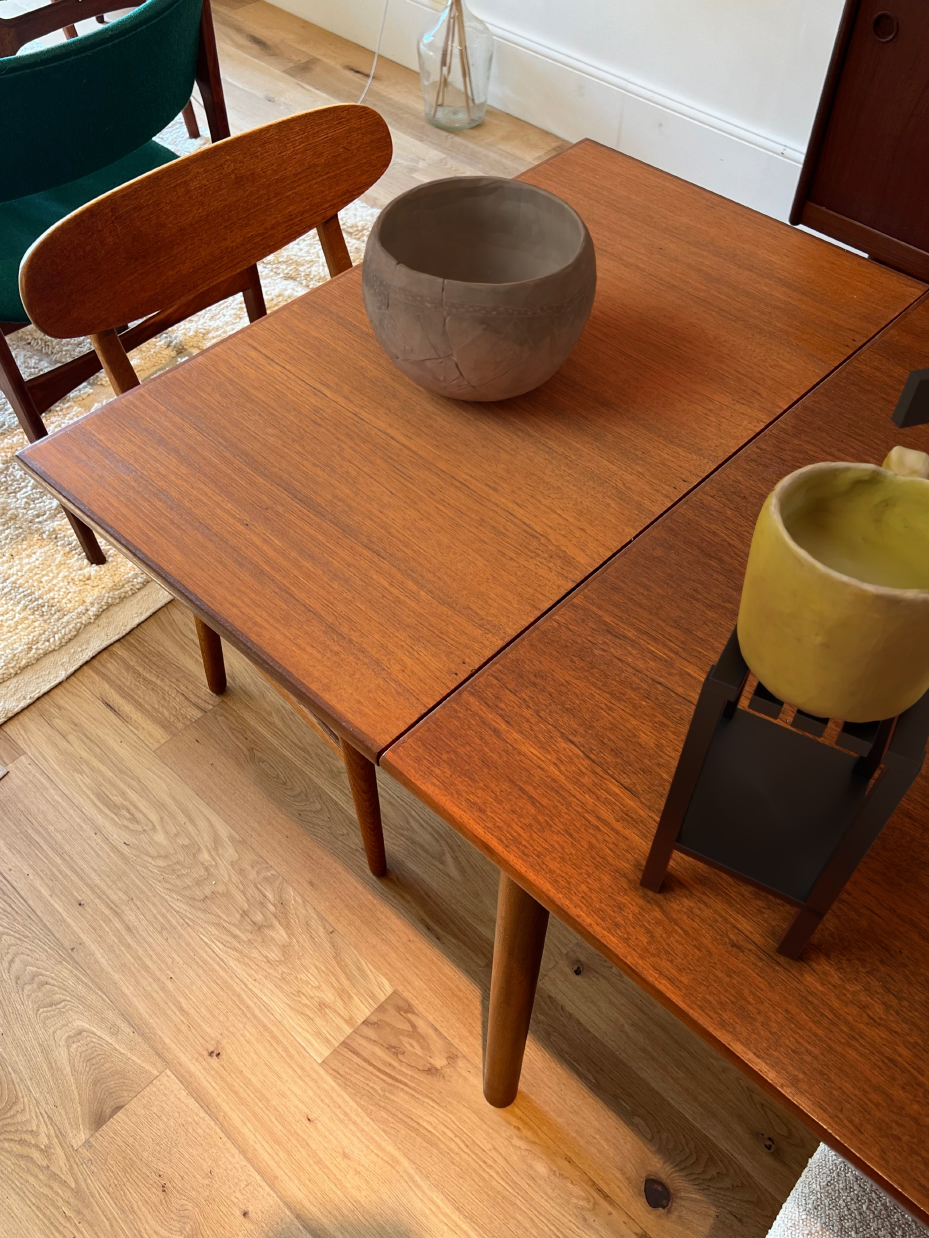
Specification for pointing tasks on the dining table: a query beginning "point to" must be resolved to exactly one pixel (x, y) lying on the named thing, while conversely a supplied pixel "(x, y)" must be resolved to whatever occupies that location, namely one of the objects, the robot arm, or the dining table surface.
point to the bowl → (478, 285)
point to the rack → (782, 795)
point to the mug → (842, 588)
